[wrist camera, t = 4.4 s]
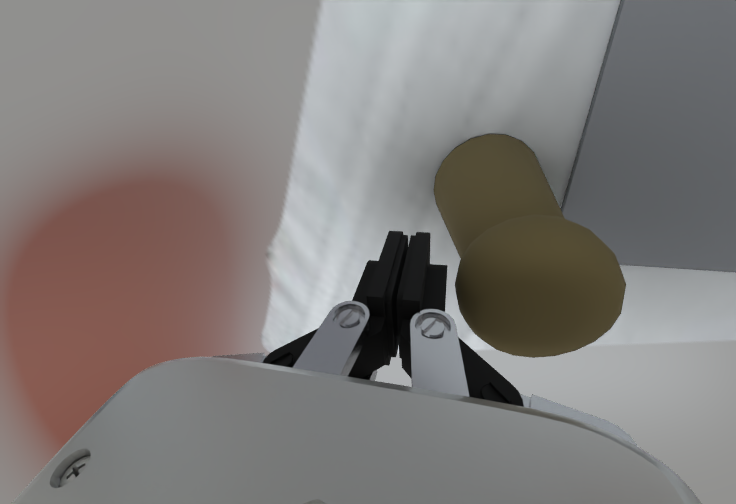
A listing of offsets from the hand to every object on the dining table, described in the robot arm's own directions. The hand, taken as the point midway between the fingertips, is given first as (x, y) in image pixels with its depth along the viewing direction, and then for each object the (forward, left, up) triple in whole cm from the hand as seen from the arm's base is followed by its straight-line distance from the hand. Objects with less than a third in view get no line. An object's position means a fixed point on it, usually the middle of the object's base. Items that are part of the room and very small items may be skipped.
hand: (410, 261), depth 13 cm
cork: (-3, 0, -8) cm, 9 cm away
